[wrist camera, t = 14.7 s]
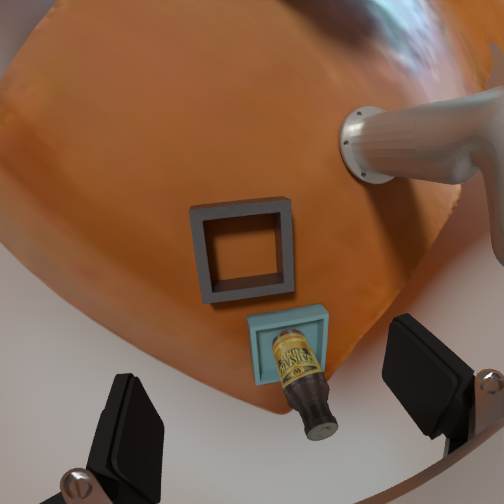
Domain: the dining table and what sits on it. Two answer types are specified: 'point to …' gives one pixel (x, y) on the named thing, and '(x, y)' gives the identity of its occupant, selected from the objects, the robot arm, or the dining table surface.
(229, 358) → the dining table surface
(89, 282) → the dining table surface
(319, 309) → the teal tray
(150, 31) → the dining table surface
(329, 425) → the sauce bottle
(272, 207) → the steel collar
